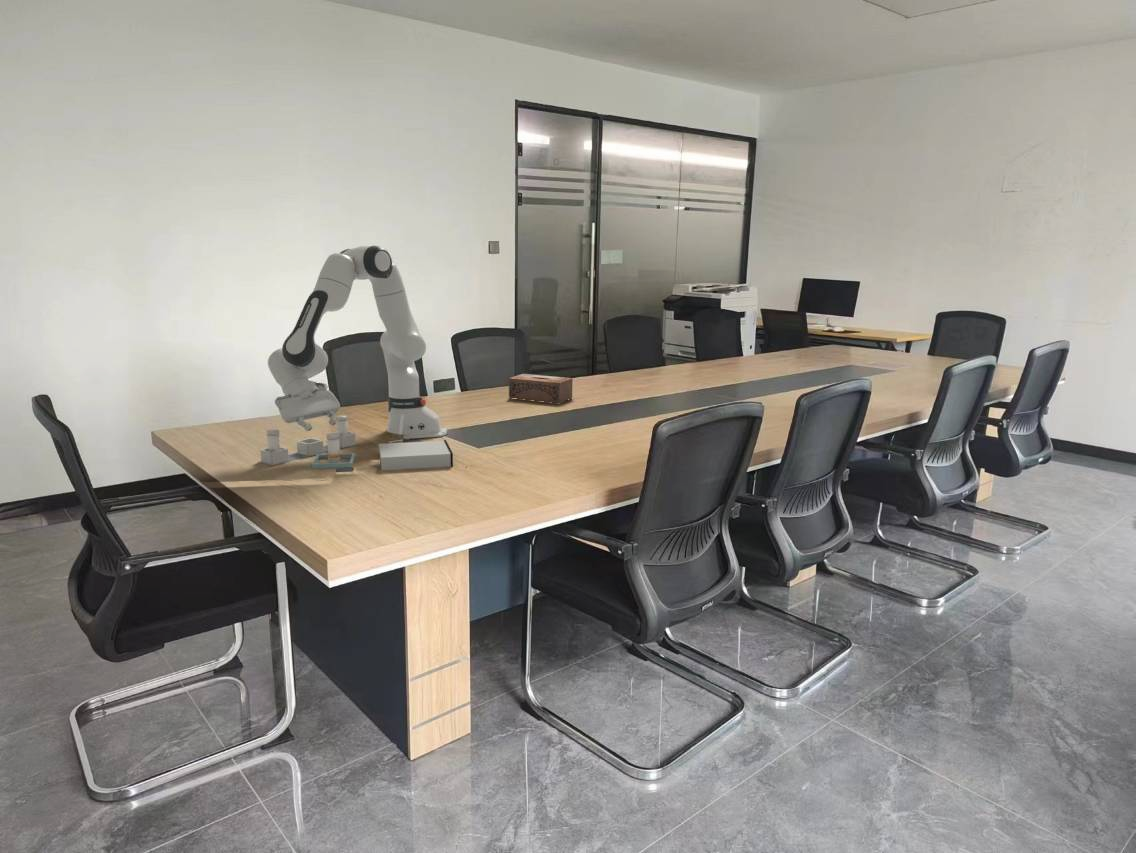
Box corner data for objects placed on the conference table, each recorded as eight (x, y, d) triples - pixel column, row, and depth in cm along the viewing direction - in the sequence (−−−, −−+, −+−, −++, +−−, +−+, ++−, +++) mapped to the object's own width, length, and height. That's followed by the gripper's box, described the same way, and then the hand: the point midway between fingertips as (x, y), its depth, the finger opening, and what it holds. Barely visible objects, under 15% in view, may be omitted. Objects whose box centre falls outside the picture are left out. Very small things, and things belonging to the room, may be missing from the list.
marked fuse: (341, 463, 250) (339, 433, 247) (340, 466, 246) (338, 435, 244) (329, 463, 249) (327, 433, 247) (327, 466, 245) (325, 436, 243)
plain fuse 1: (282, 459, 249) (280, 429, 247) (280, 462, 246) (278, 431, 244) (269, 459, 249) (267, 429, 247) (267, 463, 245) (265, 432, 243)
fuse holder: (257, 466, 246) (256, 449, 245) (346, 445, 274) (345, 429, 273) (270, 470, 242) (269, 453, 241) (359, 448, 271) (358, 432, 269)
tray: (355, 461, 254) (355, 453, 254) (352, 471, 243) (351, 463, 242) (317, 462, 252) (316, 454, 252) (312, 472, 241) (311, 464, 240)
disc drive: (453, 467, 251) (453, 452, 250) (381, 472, 245) (381, 456, 244) (446, 453, 267) (446, 439, 266) (379, 457, 261) (378, 443, 260)
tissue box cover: (572, 399, 364) (572, 378, 362) (559, 404, 351) (559, 382, 349) (523, 394, 374) (523, 373, 372) (508, 399, 361) (508, 378, 359)
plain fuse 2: (349, 443, 271) (348, 415, 269) (348, 445, 267) (347, 417, 265) (338, 443, 270) (336, 415, 268) (336, 446, 267) (335, 417, 264)
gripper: (276, 392, 241) (298, 427, 238) (329, 382, 257) (351, 415, 254) (268, 404, 244) (290, 439, 241) (321, 394, 261) (343, 426, 258)
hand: (322, 426), depth 248 cm, fingers open, 8 cm apart
